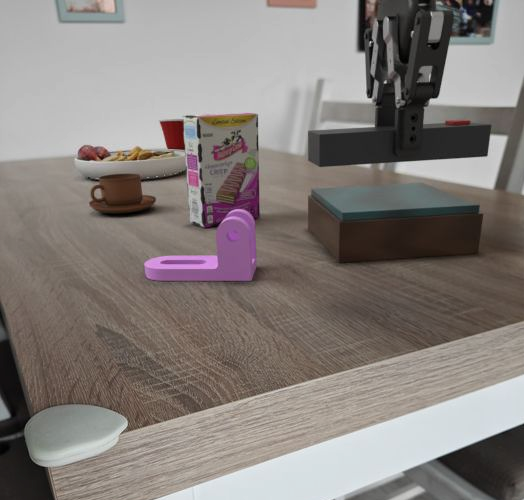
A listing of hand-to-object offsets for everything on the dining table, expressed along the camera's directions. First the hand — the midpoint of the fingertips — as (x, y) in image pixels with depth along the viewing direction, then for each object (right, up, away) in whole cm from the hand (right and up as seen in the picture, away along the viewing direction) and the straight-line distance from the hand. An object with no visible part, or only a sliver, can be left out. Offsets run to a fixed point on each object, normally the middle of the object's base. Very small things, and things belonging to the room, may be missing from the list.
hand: (395, 152), depth 49 cm
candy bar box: (-18, +4, +42) cm, 46 cm away
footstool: (+5, -2, +28) cm, 29 cm away
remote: (0, 0, 0) cm, 1 cm away
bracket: (-19, -9, +17) cm, 27 cm away
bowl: (-46, +29, +99) cm, 113 cm away
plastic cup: (-40, +46, +133) cm, 146 cm away
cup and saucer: (-38, +8, +53) cm, 65 cm away
